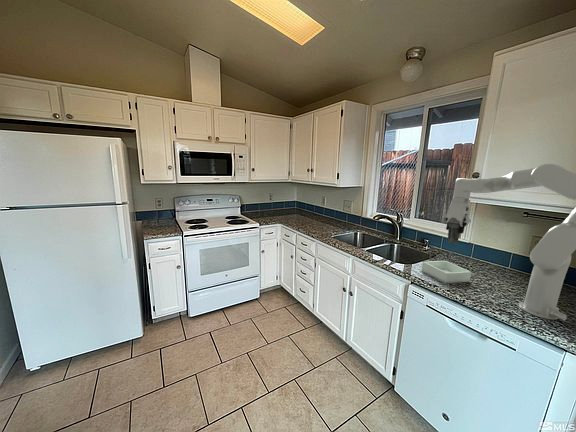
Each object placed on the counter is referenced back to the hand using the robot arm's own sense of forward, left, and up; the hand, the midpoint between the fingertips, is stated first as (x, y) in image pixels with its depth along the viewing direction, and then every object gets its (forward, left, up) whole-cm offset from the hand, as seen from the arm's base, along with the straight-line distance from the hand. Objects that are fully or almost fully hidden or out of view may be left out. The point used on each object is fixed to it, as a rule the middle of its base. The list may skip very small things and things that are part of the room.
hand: (454, 231), depth 134 cm
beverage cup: (0, 0, -7) cm, 7 cm away
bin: (0, +1, -28) cm, 28 cm away
